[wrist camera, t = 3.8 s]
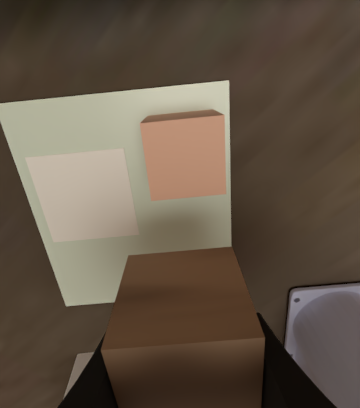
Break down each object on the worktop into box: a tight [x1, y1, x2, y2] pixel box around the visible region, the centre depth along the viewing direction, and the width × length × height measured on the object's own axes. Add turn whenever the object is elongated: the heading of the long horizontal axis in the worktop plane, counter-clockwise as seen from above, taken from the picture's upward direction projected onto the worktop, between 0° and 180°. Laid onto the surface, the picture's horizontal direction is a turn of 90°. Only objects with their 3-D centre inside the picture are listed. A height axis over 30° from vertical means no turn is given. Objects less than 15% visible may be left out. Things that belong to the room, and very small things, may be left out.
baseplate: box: [0, 80, 231, 306], centre depth 19 cm, size 16×14×1 cm
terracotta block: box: [140, 109, 226, 201], centre depth 15 cm, size 4×4×4 cm
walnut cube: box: [101, 247, 265, 408], centre depth 11 cm, size 5×5×5 cm
